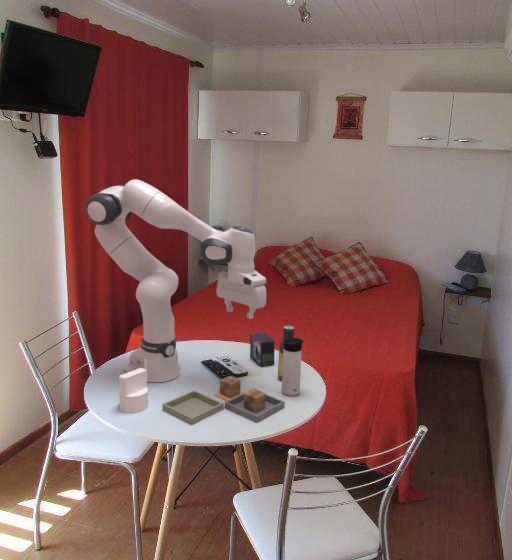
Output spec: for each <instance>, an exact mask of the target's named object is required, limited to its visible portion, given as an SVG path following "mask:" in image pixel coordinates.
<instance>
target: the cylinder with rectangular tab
mask: <svg viewBox="0 0 512 560" xmlns="http://www.w3.org/2000/svg"><path fill="white" fill-rule="evenodd" d="M118 379H119V382H118V383H119V392H118V393H119V394H118V395H119V409H120V411H122V412H125V413H127V414H128V413H130V414H131V413H132V414H134V413H135V414H136V413H140V412H143V411H145V410H146V409H148V407H149V388H148V382H147V370H145V369H143V368H139V369H136V370H134V371H131V372H128V373H127V372H125V373H124V374H123V373H122V374H120V375H119V376H118Z"/></svg>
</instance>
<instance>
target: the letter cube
mask: <svg viewBox="0 0 512 560" xmlns="http://www.w3.org/2000/svg"><path fill="white" fill-rule="evenodd" d="M241 381H242V380H241V379H240V378H236V377H234V376H232V375H229V376H226V377H224V378H221V379H220V380H219V391H220V394H221V395H224V396H226V397H228V398H232V397H234V396H236V395H239V394H240V391H241V385H242V382H241Z"/></svg>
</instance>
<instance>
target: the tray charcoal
mask: <svg viewBox="0 0 512 560" xmlns="http://www.w3.org/2000/svg"><path fill="white" fill-rule="evenodd" d="M253 389H254V388H251V389H249V390H247V391H245V392H244V393H246V392H248V391H251V390H253ZM244 393H243V394H241V395H239V396H237V397H235V398H233V399H231V400H228V401H225V402H224V409H226V410H228V411H230V412H232V413H234V414H237V415H239V416H241V417H243V418H246V419H247V420H250V421H252V422H254V423H256V424H257V423H259V422H262V421H264V420H265V419H267V418H268V417H270V416H271V415H273V414H275V413H277V412H278V411H281V410H283V409H284V408H285V407H286V406H285V403H286V401H285V400H282V399H279V398H277V397H274V396H272V395H269V394H267V393H266V408H264V409H262V410H260V411H258V412H256V413H255V412H252V411H250V410H248V409H245V408H244Z"/></svg>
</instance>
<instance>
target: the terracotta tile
mask: <svg viewBox="0 0 512 560" xmlns="http://www.w3.org/2000/svg"><path fill="white" fill-rule="evenodd" d="M243 393H245V392H244V391H241V390H240V394H239V395H241V394H243ZM239 395H236V396H234V397H232V398H228V397H226V396H224V395H221V394H220V390H219V391H217V392H214V393H213V395H212V396H214V397H217V398H218V399H220V400H224V401H225V402H226V401H228V400H231V399H233V398H235V397H237V396H239Z"/></svg>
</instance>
